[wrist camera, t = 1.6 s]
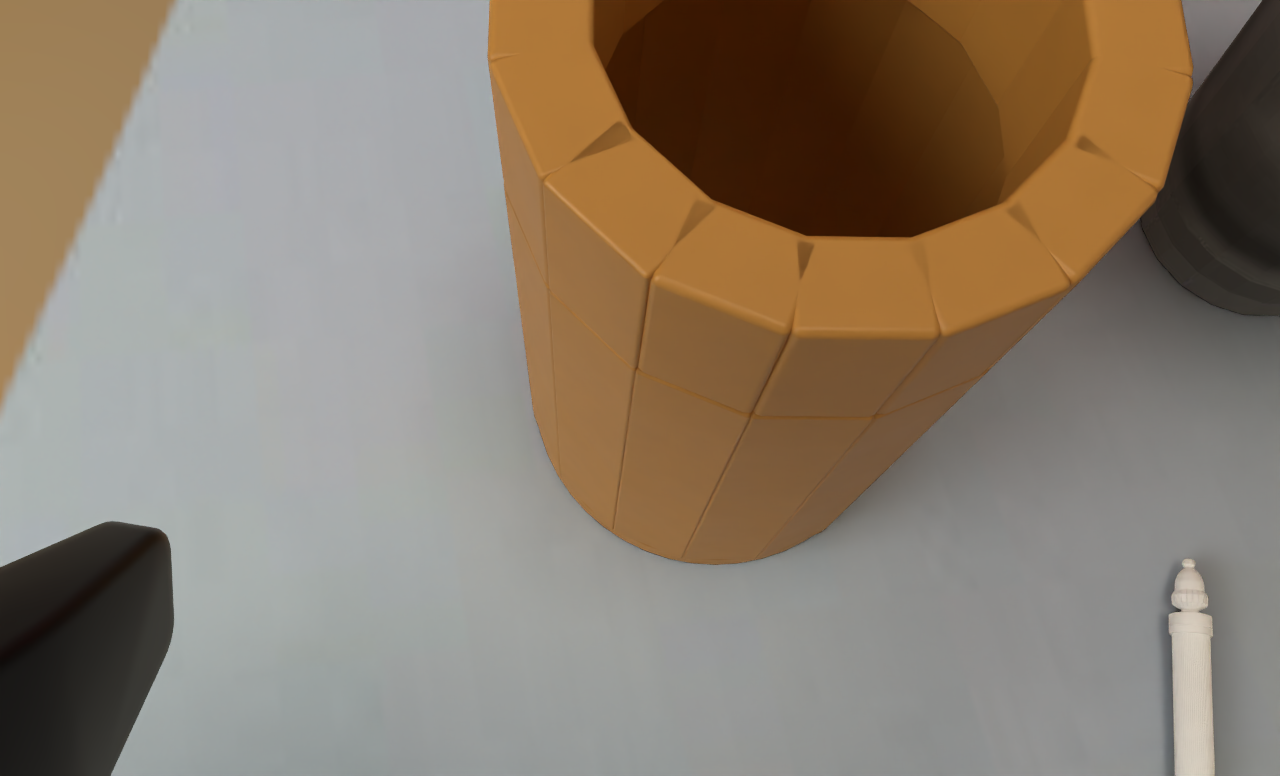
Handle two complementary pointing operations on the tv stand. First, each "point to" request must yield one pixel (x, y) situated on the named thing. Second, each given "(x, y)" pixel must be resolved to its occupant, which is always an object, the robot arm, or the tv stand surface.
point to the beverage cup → (1228, 179)
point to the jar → (802, 230)
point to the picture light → (1192, 675)
